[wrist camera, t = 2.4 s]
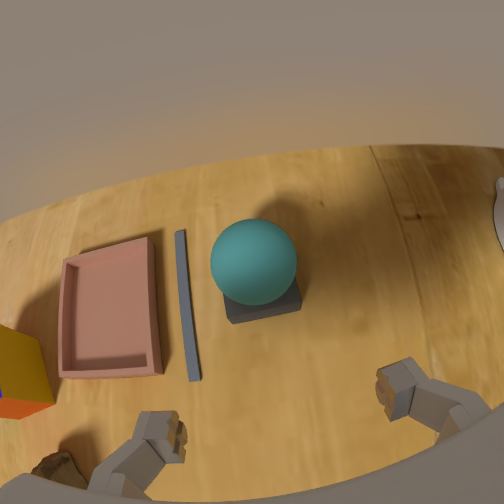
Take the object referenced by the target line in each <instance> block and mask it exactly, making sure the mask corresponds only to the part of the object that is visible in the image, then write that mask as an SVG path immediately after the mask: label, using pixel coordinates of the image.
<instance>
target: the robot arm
mask: <svg viewBox="0 0 504 504" xmlns="http://www.w3.org/2000/svg"><path fill="white" fill-rule="evenodd" d="M496 191H497V199H496V202H495V205H494V222H495V227H496V231H497V234H498V237H499V240H500V243H501V245H502V248H503V250H504V177H500V178H499V179H498V180H497V181H496ZM376 376H377V378H378V381H377V382H376V386H375V390H376V395H377V398H378V400H379V402H380V404H382V405H384V406H385V409H384V412H385V414H386V415H387V417H388V419H389V421H390V422H392V421H394V420H397V419H400V418H402V417H405V416H407V415H409V417H411V418H413V419H415V420H417V421H418V422H420V423H422V424H424V425H426V426H428V427H429V428H431V429H433V430H435V431H437V432H439V433H440V434H439V436H438V439H437V441H436V443H435V445H434V446H432V447H430V448H428V449H426V450H424V451H422V452H419V453H417V454H415V455H413V456H411V457H408V458H406V459H404V460H402V461H399V462H397V463H394V464H392V465H389V466H387V467H384V468H382V469H379V470H376V471H373V472H371V473H368V474H365V475H362V476H359V477H356V478H352V479H349V480H346V481H342V482H339V483H335V484H332V485H328V486H324V487H320V488H316V489H311V490H307V491H302V492H297V493H292V494H286V495H280V496H274V497H267V498H259V499H250V500H240V501H226V502H167V501H153V500H152V499H151V498H150V497H149V496H147V495H146V494H145V493H144V491H145V490H146V489H147V487H148V486H149V485H150V484H151V482H152V481H153V480H154V479H155V478H156V476H157V475H158V474H159V473H160V471H161V470H162V469H163V468H164V466H165V465H166V464H173V463H184V462H185V455H186V450H185V449H184V447H183V446H184V445H185V444H186V443H187V438H188V436H187V430H186V427H185V425H184V423H183V422H181V421H180V420H179V415H178V413H177V411H142V412H141V413H140V414H139V417H138V420H137V423H136V427H135V430H134V433H133V436H132V440H128V441H126V442H125V443H124V444H123V445H122V446H121V447H119V448H118V449H117V450H116V451H115V452H114V453H112V454H111V455H110V456H109V457H108V458H107V459H105V460H104V461H103V462H102V463H101V464H99V465H98V466H97V467H96V468H95V469H94V471H93V474H92V477H91V480H90V483H89V486H88V489H87V490H84V489H79V488H75V487H71V486H68V485H64V484H61V483H57V482H54V481H51V480H48V479H45V478H42V477H39V476H36V475H33V474H30V473H23V474H21V475H19V476H17V477H15V478H14V479H12V480H10V481H9V482H7V483H5V484H4V485H3V486H2V487H1V488H0V504H504V402H503V403H502V404H500V405H499V406H498V407H496V408H495V409H493V410H491V409H490V408H489V406H488V405H487V404H486V403H485V402H484V400H483V399H482V398H481V397H480V396H479V394H478V393H476V392H473V391H470V390H467V389H463V388H460V387H457V386H454V385H451V384H448V383H445V382H442V381H439V380H436V379H433V378H432V379H429V378H428V377H427V375H426V374H425V373H424V372H423V370H422V369H421V368H420V367H419V366H418V364H417V363H416V362H415V361H414V359H413V358H412V357H408V358H406V359H403V360H400V361H398V362H395V363H392V364H390V365H387V366H384V367H382V368H379V369H378V370H377V373H376Z"/></svg>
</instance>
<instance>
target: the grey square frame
mask: <svg viewBox="0 0 504 504" xmlns="http://www.w3.org/2000/svg"><path fill="white" fill-rule="evenodd" d="M223 296H224V302H225V309H226V315H227V318H228V319H229V321H230V322H231V323H232V324H236V323H242V322H247V321H252V320H257V319H262V318H266V317H271V316H276V315H280V314H285V313H290V312H294V311H298V310H300V307H301V298H300V294H299V290H298V286H297V283H296V279H295V277H294V280H293V282H292V283H291V285H290V287H289V288H288V289H287V291H286V292H285V293H284V294H283V295H281V296H280V297H279V298H277V299H276V300H274V301H272V302H270V303H267V304H263V305H245V304H241V303H238V302H236V301H234V300H232V299H230V298H229V297H227V296H226V295H225V294H224V293H223Z"/></svg>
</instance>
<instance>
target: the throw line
mask: <svg viewBox="0 0 504 504" xmlns="http://www.w3.org/2000/svg"><path fill="white" fill-rule="evenodd" d="M175 249H176V265H177V279H178V291H179V302H180V313H181V322H182V331H183V340H184V348H185V356H186V363H187V371H188V378H189V382H191V381H199V380H201V376H200V370H199V363H198V356H197V349H196V341H195V334H194V326H193V318H192V309H191V300H190V290H189V280H188V269H187V258H186V245H185V232H184V230H182V231H178V232H175Z"/></svg>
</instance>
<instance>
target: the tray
mask: <svg viewBox="0 0 504 504" xmlns="http://www.w3.org/2000/svg"><path fill="white" fill-rule="evenodd" d="M58 371H59V377H62V378H67V379H106V378H126V377H141V376H153V375H164V373H163V365H162V356H161V346H160V336H159V324H158V310H157V294H156V273H155V246H154V244H153V243H152V242H151V241H150V239H149V238H148V237H144V238H140V239H136V240H132V241H128V242H124V243H120V244H117V245H113V246H109V247H105V248H102V249H98V250H94V251H90V252H87V253H83V254H80V255H76V256H73V257H69V258H65V259H63V266H62V275H61V285H60V297H59V314H58Z"/></svg>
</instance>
